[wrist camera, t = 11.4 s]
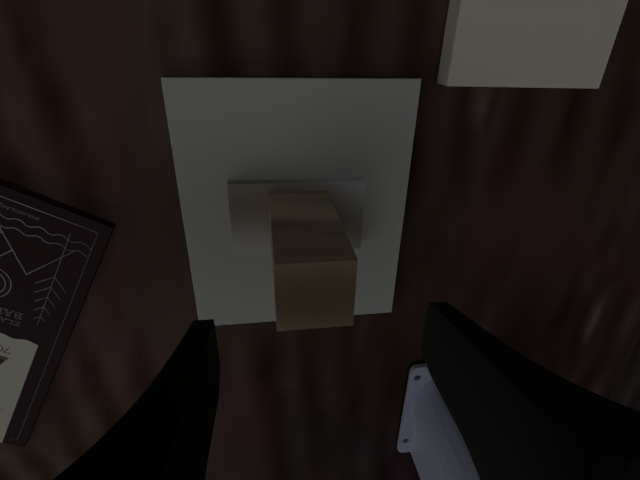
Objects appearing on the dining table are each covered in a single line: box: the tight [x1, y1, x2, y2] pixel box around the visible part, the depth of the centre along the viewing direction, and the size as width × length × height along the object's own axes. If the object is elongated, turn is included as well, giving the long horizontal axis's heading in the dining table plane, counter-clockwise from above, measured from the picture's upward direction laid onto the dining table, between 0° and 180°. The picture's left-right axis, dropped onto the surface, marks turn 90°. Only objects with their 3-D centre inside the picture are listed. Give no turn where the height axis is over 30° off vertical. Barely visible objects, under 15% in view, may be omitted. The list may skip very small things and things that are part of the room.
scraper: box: [227, 177, 366, 331], centre depth 18 cm, size 4×7×8 cm, turn 89°
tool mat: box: [161, 77, 421, 326], centre depth 22 cm, size 14×12×1 cm
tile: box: [437, 0, 628, 89], centre depth 18 cm, size 2×8×7 cm
